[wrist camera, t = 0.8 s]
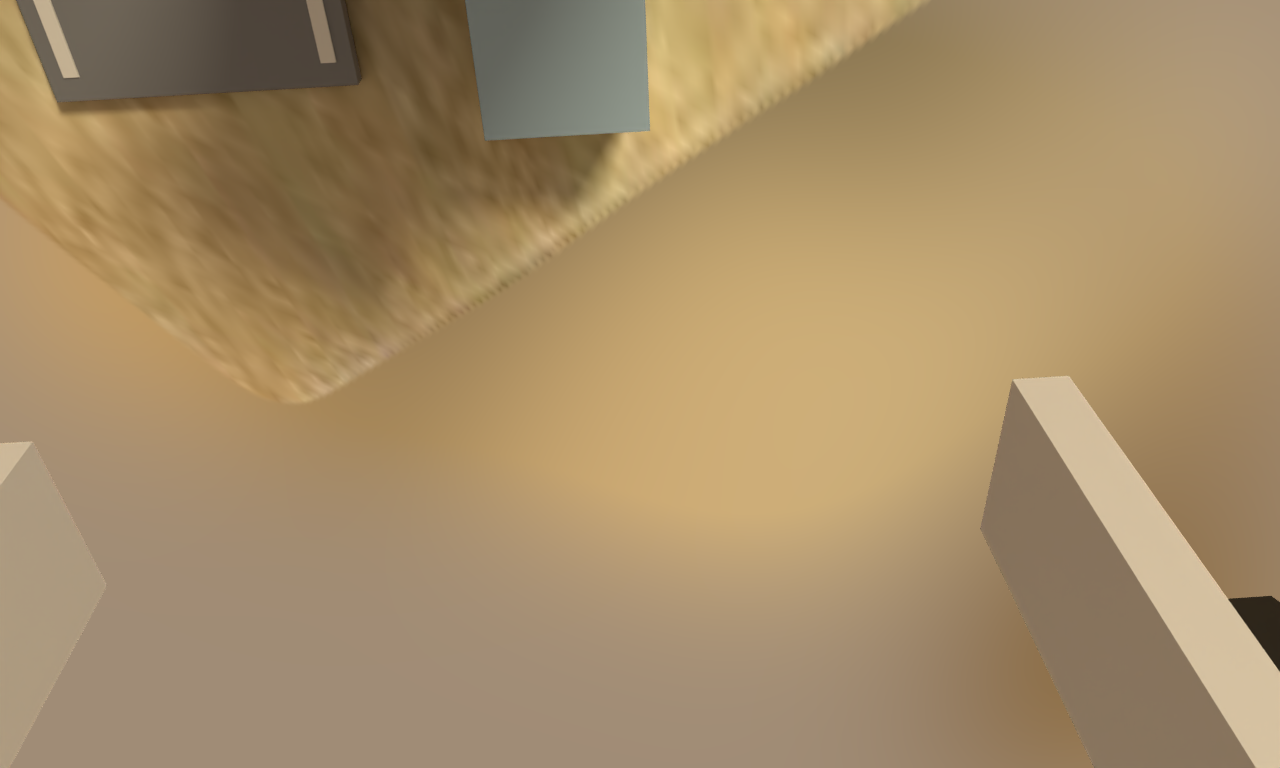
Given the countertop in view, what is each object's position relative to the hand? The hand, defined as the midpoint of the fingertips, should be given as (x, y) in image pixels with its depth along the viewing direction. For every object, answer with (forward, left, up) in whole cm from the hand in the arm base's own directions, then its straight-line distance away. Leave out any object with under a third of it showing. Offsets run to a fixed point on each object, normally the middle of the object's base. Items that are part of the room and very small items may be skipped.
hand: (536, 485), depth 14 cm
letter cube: (0, 0, -23) cm, 23 cm away
